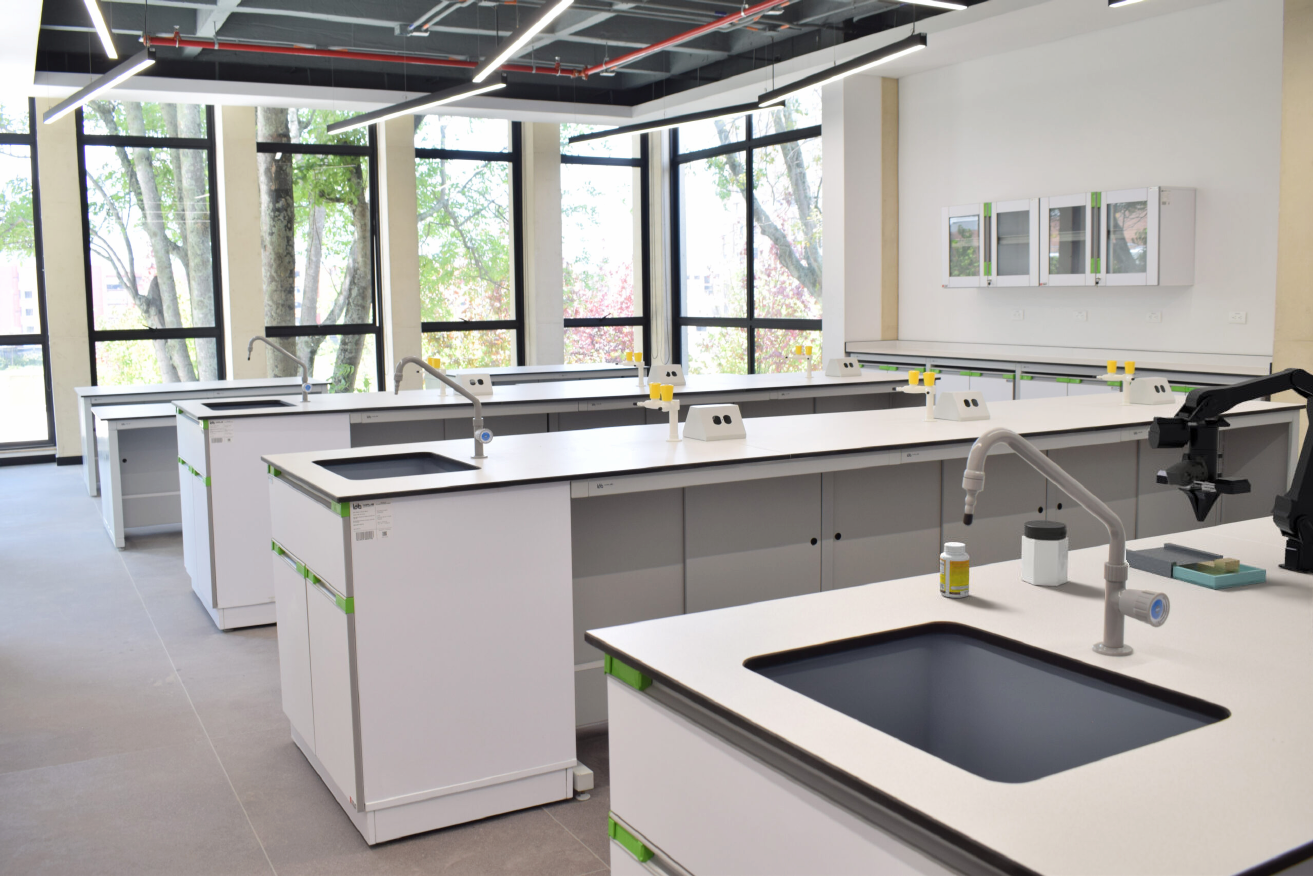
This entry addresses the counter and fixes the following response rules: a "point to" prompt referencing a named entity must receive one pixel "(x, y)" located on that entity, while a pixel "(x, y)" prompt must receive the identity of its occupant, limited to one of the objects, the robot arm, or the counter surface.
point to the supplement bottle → (954, 571)
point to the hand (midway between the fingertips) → (1200, 521)
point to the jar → (1044, 553)
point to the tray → (1221, 577)
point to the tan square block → (1206, 567)
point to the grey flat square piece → (1168, 558)
